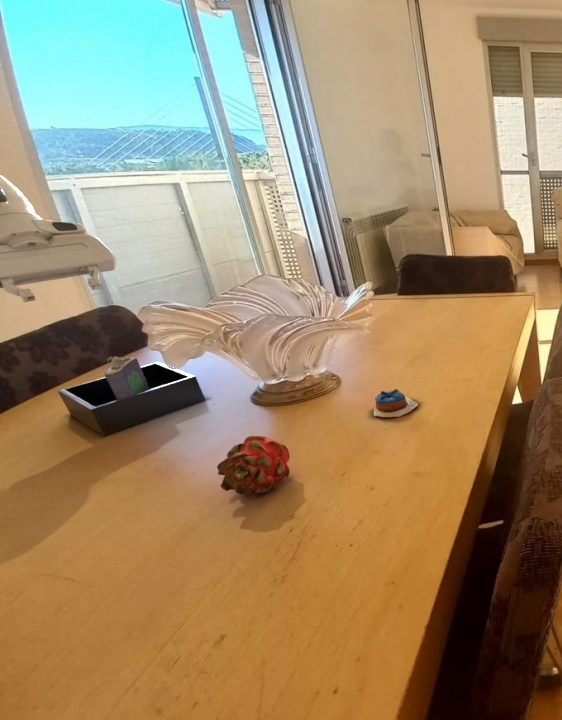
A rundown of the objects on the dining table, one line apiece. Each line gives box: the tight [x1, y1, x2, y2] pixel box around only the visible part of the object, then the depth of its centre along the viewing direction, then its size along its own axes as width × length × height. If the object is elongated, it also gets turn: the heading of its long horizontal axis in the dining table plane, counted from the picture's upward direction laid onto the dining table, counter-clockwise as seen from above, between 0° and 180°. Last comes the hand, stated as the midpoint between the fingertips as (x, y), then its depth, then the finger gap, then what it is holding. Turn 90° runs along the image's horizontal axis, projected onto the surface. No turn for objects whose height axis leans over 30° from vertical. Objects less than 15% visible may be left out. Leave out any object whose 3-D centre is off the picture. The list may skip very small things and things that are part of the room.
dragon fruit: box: [216, 435, 291, 495], centre depth 71 cm, size 8×8×12 cm
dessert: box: [373, 388, 419, 418], centre depth 93 cm, size 8×7×6 cm
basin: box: [57, 361, 206, 437], centre depth 95 cm, size 16×18×6 cm
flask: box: [104, 356, 150, 400], centre depth 94 cm, size 9×3×11 cm, turn 25°
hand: (65, 293), depth 93 cm, fingers open, 8 cm apart
